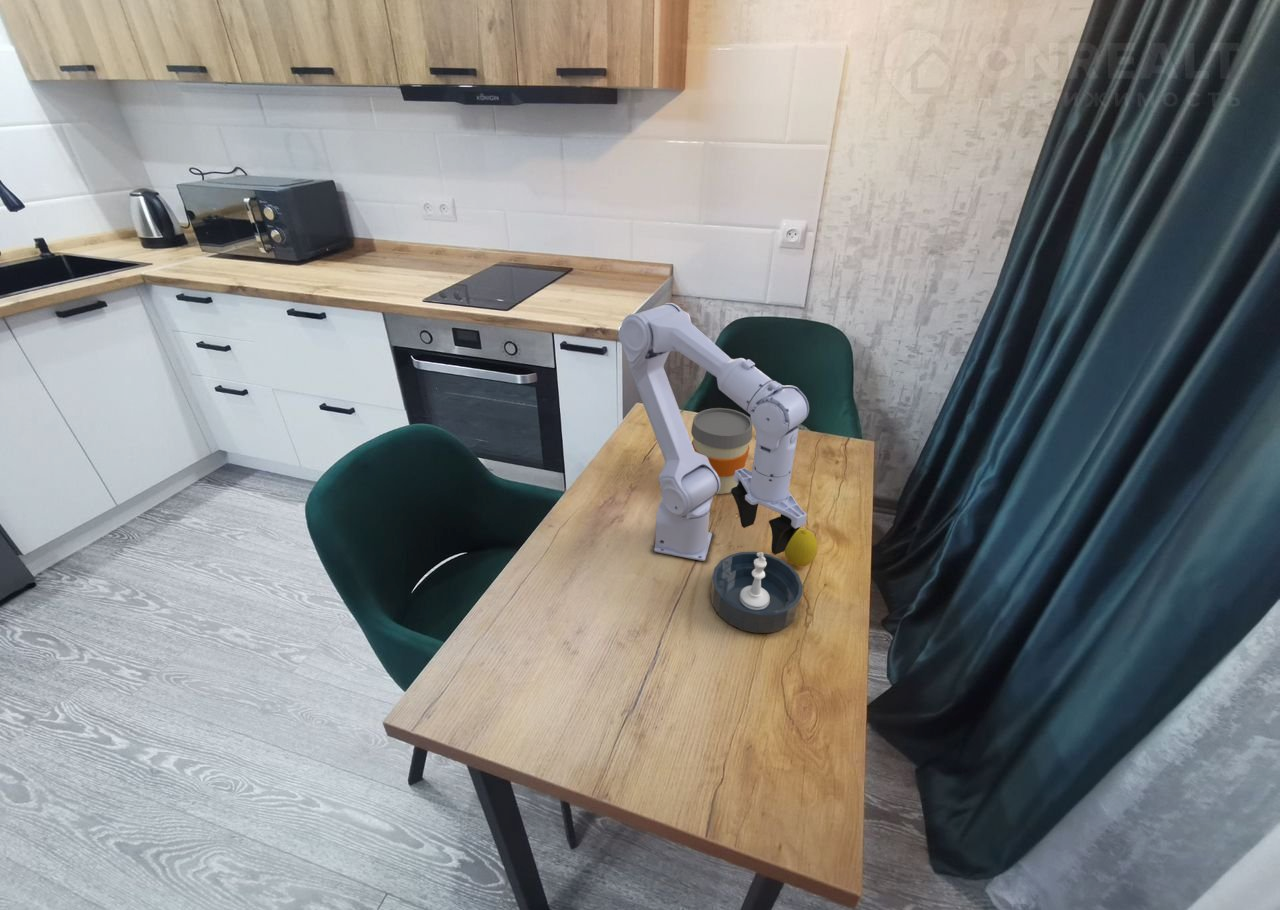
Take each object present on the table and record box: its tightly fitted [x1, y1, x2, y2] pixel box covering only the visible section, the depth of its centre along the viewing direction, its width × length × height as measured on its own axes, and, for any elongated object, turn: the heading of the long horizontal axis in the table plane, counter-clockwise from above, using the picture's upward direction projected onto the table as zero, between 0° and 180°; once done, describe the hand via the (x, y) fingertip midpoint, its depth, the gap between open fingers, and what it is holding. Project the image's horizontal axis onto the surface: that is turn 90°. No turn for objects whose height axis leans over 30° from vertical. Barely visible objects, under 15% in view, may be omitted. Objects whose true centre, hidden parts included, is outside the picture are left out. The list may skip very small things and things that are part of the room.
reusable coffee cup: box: [690, 407, 753, 495], centre depth 119 cm, size 12×13×15 cm
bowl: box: [710, 551, 804, 634], centre depth 92 cm, size 14×14×5 cm
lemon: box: [784, 528, 818, 568], centre depth 99 cm, size 6×6×8 cm
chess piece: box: [739, 551, 770, 610], centre depth 90 cm, size 5×5×10 cm
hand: (762, 538), depth 91 cm, fingers open, 7 cm apart
